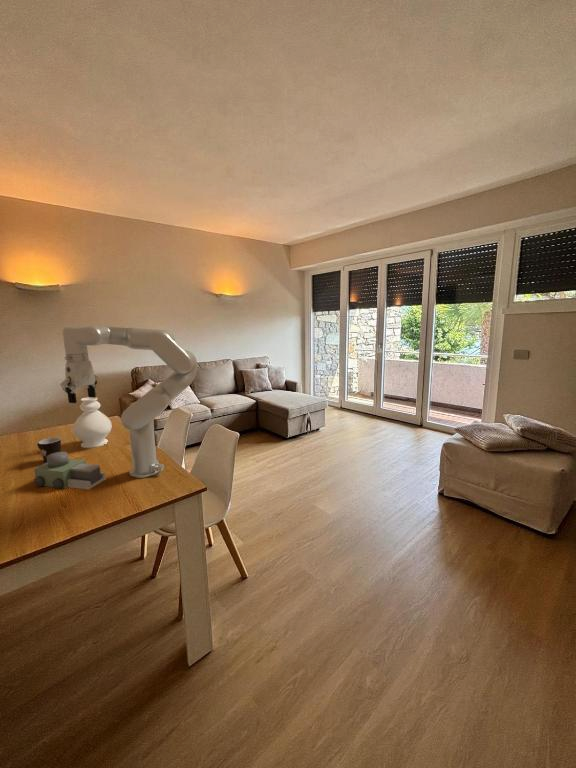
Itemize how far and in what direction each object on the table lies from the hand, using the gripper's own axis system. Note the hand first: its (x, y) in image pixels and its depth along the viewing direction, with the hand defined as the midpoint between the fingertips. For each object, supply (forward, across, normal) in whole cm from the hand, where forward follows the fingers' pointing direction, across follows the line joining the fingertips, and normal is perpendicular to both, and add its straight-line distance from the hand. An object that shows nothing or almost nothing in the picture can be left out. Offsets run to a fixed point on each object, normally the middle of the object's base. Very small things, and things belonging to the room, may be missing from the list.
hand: (82, 399), depth 134 cm
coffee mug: (+34, +10, +32) cm, 47 cm away
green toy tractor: (+33, -6, +4) cm, 34 cm away
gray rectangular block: (+32, -6, -3) cm, 33 cm away
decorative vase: (+34, +32, +28) cm, 54 cm away
